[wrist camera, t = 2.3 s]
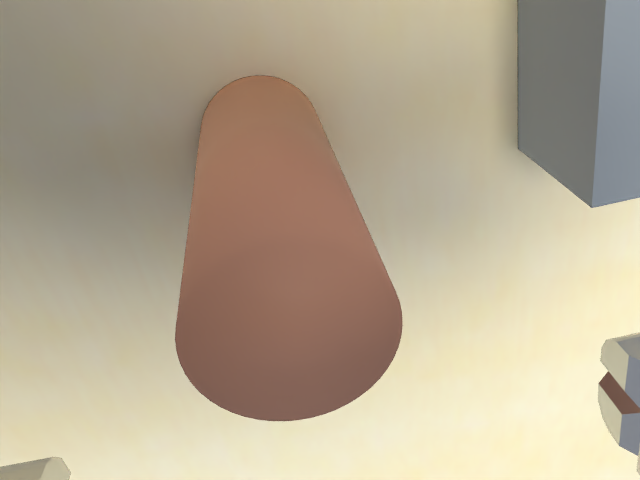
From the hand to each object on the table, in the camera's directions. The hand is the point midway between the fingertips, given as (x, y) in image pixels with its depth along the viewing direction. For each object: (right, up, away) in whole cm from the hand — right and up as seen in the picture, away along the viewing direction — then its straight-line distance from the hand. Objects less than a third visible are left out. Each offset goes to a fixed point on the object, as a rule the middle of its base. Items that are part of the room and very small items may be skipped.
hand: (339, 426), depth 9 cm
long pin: (-2, +6, +11) cm, 13 cm away
